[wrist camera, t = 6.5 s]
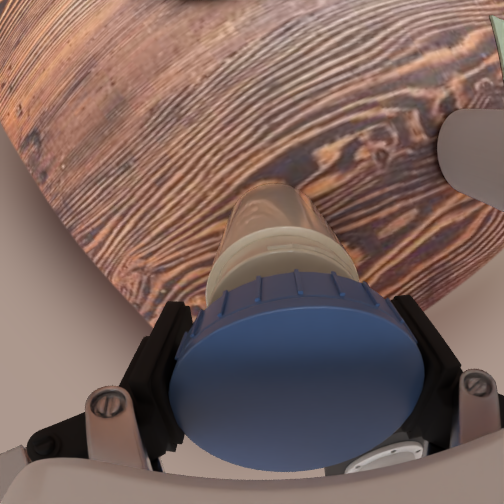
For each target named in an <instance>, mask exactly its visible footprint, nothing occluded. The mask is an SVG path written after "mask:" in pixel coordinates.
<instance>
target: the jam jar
mask: <svg viewBox="0 0 504 504" xmlns="http://www.w3.org/2000/svg"><path fill="white" fill-rule="evenodd" d="M294 269H298V270H299V272H318V273H330V274H331V271H334V272H336V274H337V275H338V276H342V277H345V278H349V279H352V280H354V281H357V282H359V277H358V273H357V270H356V267H355V265H354V263H353V261H352V259H351V258H350V256H349V255H348V253H347V252H346V250H345V248H344V247H343V245H342V244H341V242H340V241H339V239H338V238H337V237H336V235H335V234H334V232H333V231H332V229H331V228H330V226H329V225H328V223H327V222H326V220H325V219H324V218H323V216H322V215H321V213H320V212H319V210H318V209H317V208H316V206H315V205H314V203H313V202H312V201H311V200H310V198H309V197H308V196H307V195H306V194H304V193H303V192H302V191H300V190H298V189H296V188H295V187H292V186H289V185H285V184H278V183H271V184H264V185H261V186H257V187H255V188H253V189H251V190H249V191H248V192H246V193H245V194H244V195H243V196H242V197H241V198H240V199H239V200H238V201H237V202H236V204H235V205H234V207H233V209H232V211H231V213H230V216H229V219H228V222H227V225H226V227H225V230H224V233H223V236H222V239H221V242H220V245H219V248H218V250H217V253H216V256H215V259H214V262H213V265H212V268H211V271H210V274H209V277H208V280H207V285H206V305H207V307H208V306H209V305H211V304H212V303H213V302H214V301H215V300H217V299H218V298H220V297H221V296H222V295H223V291H225V290H228V292H229V291H231V290H233V289H235V288H237V287H239V286H241V285H243V284H246V283H249V282H251V281H254V280H256V276H261V278H262V277H268V276H272V275H276V274H283V273H290V272H294ZM359 283H360V282H359Z"/></svg>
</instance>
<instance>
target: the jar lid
mask: <svg viewBox="0 0 504 504" xmlns="http://www.w3.org/2000/svg"><path fill="white" fill-rule="evenodd" d="M417 343H418V342H417V340H416V338H415V337H414V335H413V334H412V332H411V331H410V329H409V328H408V326H407V324H406V323H405V321H404V320H403V318H402V317H401V316H400V314H399V313H398V311H397V310H396V308H395V307H394V305H393V304H392V302H391V301H390V299H389V298H386V299H384V298H383V297H382V296H381V295H379V294H378V293H377V292H376V291H374V290H372V289H371V288H370V287H369V285H368V284H367V282H365V281H363V283H359V282H357V281H354V280H352V279H349V278H345V277H342V276H338V275H337V274H336V272H334V271H331V274H330V273H318V272H299V270H298V269H294V272H290V273H283V274H276V275H272V276H268V277H262V278H261V276H256V280H254V281H251V282H249V283H246V284H243V285H241V286H239V287H237V288H235V289H233V290H231V291H229V292H228V290H225V291H223V295H222V296H221V297H220V298H218V299H217V300H215V301H214V302H213V303H212V304H211V305H209V306H208V307H207V308H206V309H205V310H204V311H203V310H202V309H201V310H200V311H199V313H198V315H197V318H196V321H195V322H194V323H193V325H192V327H191V328H190V330H189V332H188V333H187V332H185V333H184V336H183V338H182V341H181V343H180V346H179V348H178V351H177V353H176V356H175V360H177V363H176V365H175V368H174V371H173V374H172V377H171V380H170V383H169V392H168V395H169V401H170V405H171V408H172V411H173V414H174V417H175V419H176V422H177V424H178V426H179V427H180V428H181V430H182V431H183V432H184V434H185V435H186V436H188V438H189V439H190V440H192V441H193V442H194V443H195V444H196V445H198V446H199V447H200V448H202V449H203V450H205V451H206V452H208V453H210V454H211V455H213V456H216V457H217V458H220V459H222V460H224V461H227V462H230V463H232V464H235V465H239V466H242V467H246V468H251V469H256V470H264V471H274V472H296V471H305V470H313V469H319V468H324V467H328V466H332V465H336V464H339V463H342V462H344V461H347V460H350V459H352V458H355V457H357V456H359V455H361V454H363V453H365V452H367V451H369V450H371V449H372V448H374V447H376V446H377V445H379V444H380V443H382V442H383V441H384V440H386V439H387V438H388V437H390V436H391V435H392V434H393V433H394V432H395V431H396V430H397V429H398V428H399V427H401V425H402V424H403V423H404V422H405V421H406V420H407V418H408V417H409V416H410V414H411V413H412V411H413V409H414V407H415V405H416V403H417V401H418V399H419V397H420V394H421V392H422V389H423V384H424V377H425V374H424V363H423V359H422V355H421V353H420V351H419V349H418V347H417V345H416V344H417Z"/></svg>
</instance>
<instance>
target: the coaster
mask: <svg viewBox="0 0 504 504" xmlns="http://www.w3.org/2000/svg"><path fill="white" fill-rule="evenodd" d="M490 20H491V23H492V27H493V31H494V35H495V39H496V43H497V48H498V52H499V57H500V62H501V68H502V74H503V80H504V20H502V19H499V18H497V17H495V16H493V15H491V16H490Z"/></svg>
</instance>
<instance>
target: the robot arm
mask: <svg viewBox="0 0 504 504" xmlns="http://www.w3.org/2000/svg"><path fill="white" fill-rule="evenodd" d="M391 302H392V304H393V305H394V307H395V308H396V310H397V311H398V313H399V314H400V316H401V317H402V318H403V320H404V321H405V323H406V324H407V326H408V328H409V329H410V331H411V332H412V334H413V335H414V337H415V338H416V340H417V342H418V343H417V344H416V345H417V347H418V349H419V351H420V353H421V355H422V359H423V363H424V374H425V377H424V384H423V389H422V392H421V394H420V397H419V399H418V401H417V403H416V405H415V407H414V409H413V411H412V413H411V414H410V416H409V417H408V418H407V420H406V421H405V422H404V423H403V424H402V425H401V430H402V431H403V432H406V433H407V435H408V438H409V440H410V439H414V438H418V437H421V436H422V438H423V439H424V446H423V447H422V445H421V444H420V443H419V442H416V441H404V442H398V443H394V444H390V445H387V446H384V447H381V448H378V449H376V450H373V451H371V452H369V453H367V454H365V455H363V456H361V457H359V458H358V459H356V460H355V461H353V462H352V463H351V464H350V465H349V466H348V467H347V468H346V470H345V474H341V475H333V476H325V477H315V478H303V479H285V480H232V479H215V478H203V477H192V476H184V475H176V474H169V473H165V471H164V467H163V464H162V461H161V458H160V456H162V455H164V454H165V453H166V451H172V452H175V451H176V447H177V444H182V443H183V439H184V435H185V434H184V432H183V431H182V430H181V428H180V427H179V426H178V424H177V422H176V419H175V417H174V414H173V411H172V408H171V405H170V401H169V395H168V392H169V383H170V380H171V377H172V374H173V371H174V368H175V365H176V363H177V360H175V356H176V353H177V351H178V348H179V346H180V343H181V341H182V338H183V336H184V333H185V332H187V333H188V332H189V330H190V328H191V327H192V325H193V323H192V317H191V310H190V307H189V306H185V304H184V302H173V301H168V302H167V303H166V305H165V307H164V309H163V311H162V313H161V314H160V316H159V318H158V320H157V322H156V324H155V326H154V328H153V330H152V332H151V334H150V336H146V337H144V338H143V339H142V341H141V343H140V345H139V347H138V349H137V351H136V353H135V355H134V357H133V359H132V361H131V363H130V365H129V367H128V369H127V371H126V373H125V375H124V377H123V379H122V381H121V383H120V385H119V386H105V387H101V388H99V389H97V390H95V391H94V392H92V393H91V394H90V395H89V397H88V398H87V400H86V404H85V412H84V413H81V414H79V415H77V416H74V417H72V418H69V419H67V420H64V421H62V422H59V423H57V424H54V425H52V426H49V427H47V428H44V429H42V430H39V431H38V432H36V433H34V434H33V435H32V436H31V437H30V439H29V441H28V443H27V447H26V448H24V447H23V446H22V445H20V446H18V447H16V448H13V449H11V450H9V451H6V452H4V453H1V454H0V504H504V396H503V395H500V394H498V392H497V386H496V382H495V380H494V379H493V378H492V376H491V375H489V374H488V373H487V372H485V371H483V370H479V369H469V370H466V371H465V372H463V371H462V370H461V368H460V367H461V364H460V362H459V361H458V359H457V358H456V356H455V355H454V353H453V352H452V351H451V349H450V348H449V346H448V345H447V344H446V342H445V341H444V339H443V338H442V337H441V335H440V334H439V332H438V331H437V329H436V328H435V327H434V325H433V324H432V323H431V321H430V320H429V319H428V317H427V316H426V315H425V313H424V312H423V311H422V309H421V308H420V307H419V306H418V304H417V303H416V302H415V300H414V299H413V298H412V297H411V296H410V295H401V296H395V297H394V299H393V300H391ZM421 456H422V458H421Z"/></svg>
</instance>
